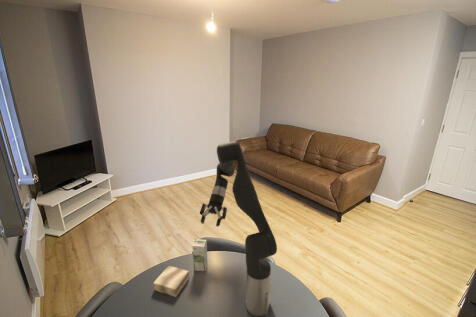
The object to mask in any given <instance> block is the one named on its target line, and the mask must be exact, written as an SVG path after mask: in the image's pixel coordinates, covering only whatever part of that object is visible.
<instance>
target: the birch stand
mask: <svg viewBox="0 0 476 317" xmlns="http://www.w3.org/2000/svg"><path fill="white" fill-rule="evenodd" d="M189 271H190V270H186V269H183V268H179V267H176V266H175V267H174V266H171V265H167V267H166V268H165V269H164V270H162V273H161V274H159V276H157V278H156V279H155V281H153V290H154V291H155V292H159V293H162V294H166V295H169V296H171V297H176V298H177V296H178V295H179V293H180V292H181V290H182V289H183V287H184V286H185V285H186V284H187V282H188V280H189V279H190V272H189Z"/></svg>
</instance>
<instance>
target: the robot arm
mask: <svg viewBox="0 0 476 317" xmlns="http://www.w3.org/2000/svg"><path fill="white" fill-rule="evenodd" d="M216 155H217V159H218V162H219V163H218V164H217V165H216V177H215V182H214V187H213V188H212V191H211V195H210V198H209V201H208V204H206V203H202V205H201V208H200V210H199V214H200V215H201V219H200V222H201V224H202V225H203V224H205V220H206V217H207V216H208V215H210V214H211V215H217V220H216V224H215V226H216V227H219V226H221V221H222V220H226V217H227V213H228V208H227V207H226V206H224V205H223V204H224V201H225V198H226V193H227V187H228V185H229V184H228V183H229V181H228V179H227V178H225V177H228V178H231V177H233V176H234V174H235V177H234V181H233V184H232V188H231V189H232V194H233V197H234V201H235V203H236V205H237V207H238V208H239V209H240V210H241V211H242V212H243V213H244V214H245V215H246V216H248V217H249V218H250V219H251V220H252V222H253V223H254V225H255V227H257V228H256V229H257V230H258V232H254V233H251V234H249V235H247V236H246V238H245V242H244V243H245V244H244V247H245V250H244V251H245V264H246V297H245V298H246V300H245V304H246V306H245V307H246V310H247V311H248V312H249V314H250V315H253V316H255V317H262V316H268V313H269V309H270V305H271V291H272V284H271V272H272V271H271V270H272V268H271V263H270V262H269V261H268V260H267V259H265V258H269V257H272V256H274V255H276V254H277V252H278V246H277V241H276V238H275V236H274V233H273V231H272V229H271V226H270V225H269V222H268V220H267V218H266V216H265V214H264V211H263V208H262V205H261V203H260V199H259V196H258V194H257V191H256V189H255V186H254V183H253V181H252V178H251V176H250V173H249V171H248V168H247V164H246V161H245V157H244V154H243V150H242V146H241V145H240V143H239V142H238V141H237V140H232V141H228V142H225V143H221V144H218V145H217V147H216ZM234 162H237V168H236V170H237V171H236V173H235V166H234ZM223 206H224V207H223ZM221 211H222V215H221Z"/></svg>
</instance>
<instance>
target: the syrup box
mask: <svg viewBox="0 0 476 317" xmlns="http://www.w3.org/2000/svg"><path fill="white" fill-rule="evenodd" d="M207 244H208V242H207V239H197V238H196V239H195V240H194V241H193V243H192V260H193V271H194V272H206V270H207V267H208V245H207Z"/></svg>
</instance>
